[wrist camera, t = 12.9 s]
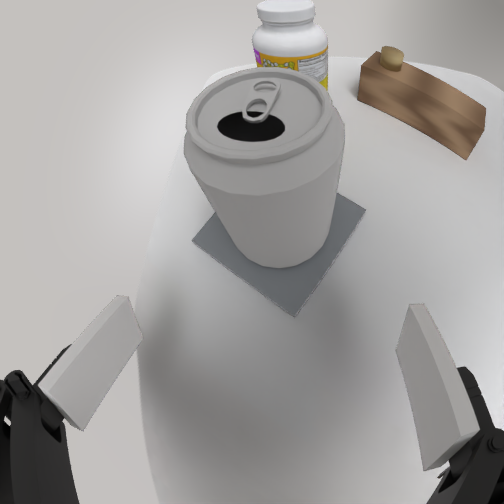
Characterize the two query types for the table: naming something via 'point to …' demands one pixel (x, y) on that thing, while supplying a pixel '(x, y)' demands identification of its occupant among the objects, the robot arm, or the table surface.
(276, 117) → the can
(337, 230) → the trivet
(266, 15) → the supplement bottle
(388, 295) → the table surface
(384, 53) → the walnut block
